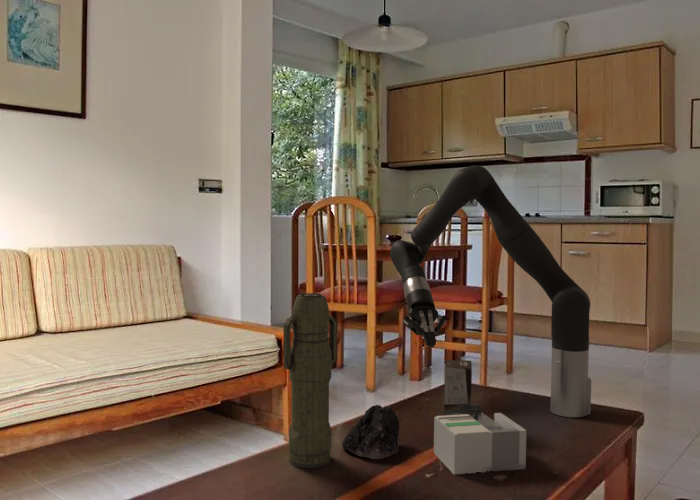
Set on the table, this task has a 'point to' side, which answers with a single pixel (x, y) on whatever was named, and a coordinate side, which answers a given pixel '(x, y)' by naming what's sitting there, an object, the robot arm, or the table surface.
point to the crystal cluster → (374, 434)
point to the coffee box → (457, 384)
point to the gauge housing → (479, 444)
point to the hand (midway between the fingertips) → (431, 346)
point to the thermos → (310, 379)
